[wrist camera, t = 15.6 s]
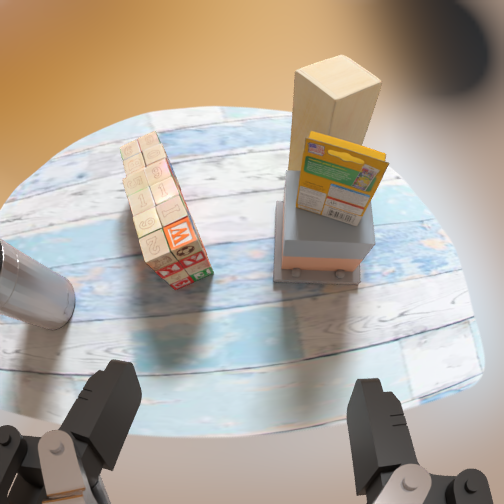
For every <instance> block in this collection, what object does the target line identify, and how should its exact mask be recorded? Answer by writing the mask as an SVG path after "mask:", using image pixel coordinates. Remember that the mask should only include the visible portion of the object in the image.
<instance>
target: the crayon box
mask: <svg viewBox="0 0 504 504" xmlns="http://www.w3.org/2000/svg"><path fill="white" fill-rule="evenodd" d="M385 158H386V154H385V153H382V152H379V151H376V150H373V149H370V148H367V147H364V146H361V145H358V144H355V143H352V142H348V141H345V140H342V139H338V138H335V137H331V136H328V135H324V134H321V133H317V132H314V131H310V134H309V137H308V138H305V146H304V150H303V157H302V164H301V171H300V178H299V185H298V193H297V199H296V208H299V209H303V210H307V211H310V212H313V213H316V214H320V215H323V216H326V217H329V218H332V219H335V220H338V221H341V222H345V223H348V224H351V225H353V226H357V225H358V224H359V222H360V220H361V218H362V216H363V215H364V213H365V211H366V209H367V207H368V205H369V203H370V201H371V199H372V197H373V195H374V193H375V192H376V190H377V188H378V186H379V183H380V181H381V179H382V177H383V175H384V173H385V171H386V169H387V167H388V165H389V163H388V162H385Z"/></svg>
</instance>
